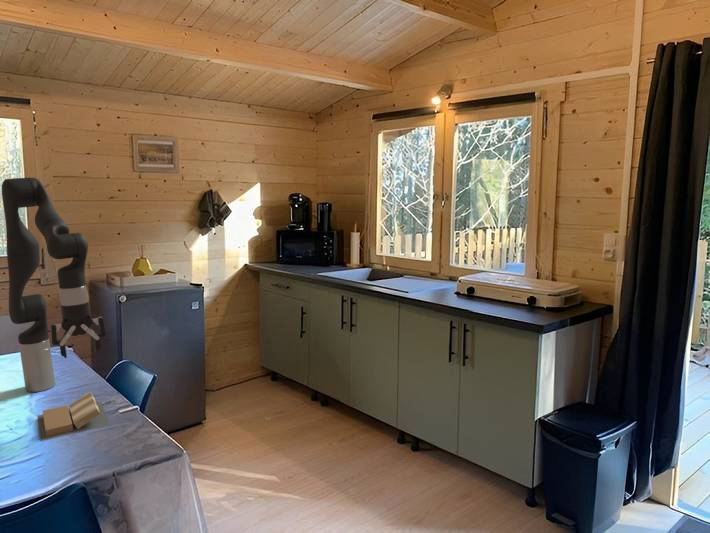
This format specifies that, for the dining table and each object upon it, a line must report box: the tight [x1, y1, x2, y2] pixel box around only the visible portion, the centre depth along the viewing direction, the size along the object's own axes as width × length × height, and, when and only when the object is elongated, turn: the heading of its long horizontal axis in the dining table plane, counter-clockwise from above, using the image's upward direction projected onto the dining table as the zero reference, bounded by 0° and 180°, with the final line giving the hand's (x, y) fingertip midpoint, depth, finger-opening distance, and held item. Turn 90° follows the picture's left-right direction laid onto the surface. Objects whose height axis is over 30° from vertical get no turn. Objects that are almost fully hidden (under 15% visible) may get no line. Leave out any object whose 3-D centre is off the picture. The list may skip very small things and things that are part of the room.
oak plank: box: [68, 391, 100, 429], centre depth 169 cm, size 16×7×2 cm, turn 32°
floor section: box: [37, 401, 111, 442], centre depth 168 cm, size 20×18×3 cm
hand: (81, 354), depth 166 cm, fingers open, 8 cm apart
